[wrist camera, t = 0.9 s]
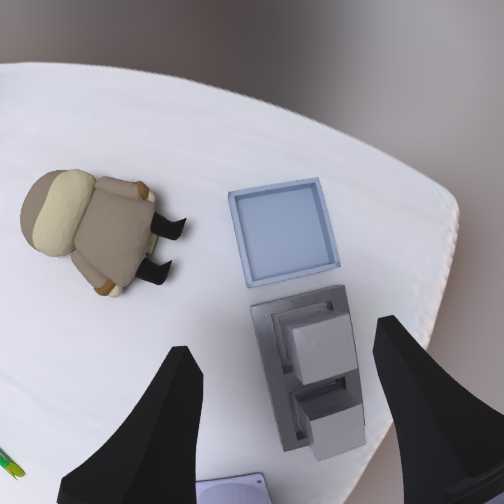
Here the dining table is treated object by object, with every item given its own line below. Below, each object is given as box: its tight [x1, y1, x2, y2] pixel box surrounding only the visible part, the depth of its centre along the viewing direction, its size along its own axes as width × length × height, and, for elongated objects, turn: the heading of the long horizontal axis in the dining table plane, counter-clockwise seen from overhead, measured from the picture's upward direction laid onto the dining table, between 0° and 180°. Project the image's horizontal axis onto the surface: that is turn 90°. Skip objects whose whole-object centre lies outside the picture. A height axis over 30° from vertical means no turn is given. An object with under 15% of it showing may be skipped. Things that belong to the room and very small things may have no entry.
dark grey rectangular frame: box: [250, 285, 365, 452], centre depth 24 cm, size 14×8×2 cm, turn 12°
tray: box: [228, 177, 341, 288], centre depth 25 cm, size 8×8×2 cm
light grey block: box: [276, 307, 358, 385], centre depth 22 cm, size 4×4×6 cm
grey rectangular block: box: [292, 380, 366, 461], centre depth 21 cm, size 4×4×6 cm
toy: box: [20, 169, 186, 297], centre depth 22 cm, size 10×6×15 cm
